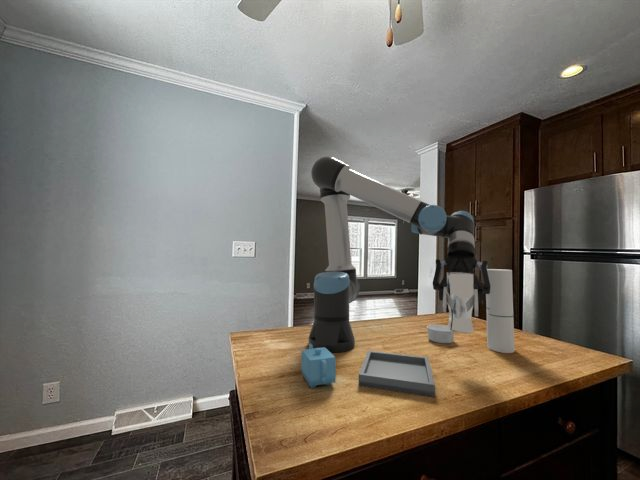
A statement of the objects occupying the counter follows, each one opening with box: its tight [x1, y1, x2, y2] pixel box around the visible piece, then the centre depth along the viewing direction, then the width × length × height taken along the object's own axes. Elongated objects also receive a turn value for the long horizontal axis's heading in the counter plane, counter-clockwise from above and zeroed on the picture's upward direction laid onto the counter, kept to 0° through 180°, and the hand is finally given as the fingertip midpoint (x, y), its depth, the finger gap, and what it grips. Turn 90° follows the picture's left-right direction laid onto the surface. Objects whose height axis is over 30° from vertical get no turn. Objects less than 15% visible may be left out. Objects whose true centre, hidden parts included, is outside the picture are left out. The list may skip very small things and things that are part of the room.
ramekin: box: [426, 324, 455, 344], centre depth 95 cm, size 9×9×4 cm
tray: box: [358, 350, 436, 398], centre depth 66 cm, size 16×16×2 cm
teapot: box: [300, 342, 337, 388], centre depth 64 cm, size 12×6×8 cm, turn 19°
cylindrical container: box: [485, 268, 515, 354], centre depth 86 cm, size 7×7×25 cm
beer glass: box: [446, 271, 475, 334], centre depth 72 cm, size 7×7×15 cm
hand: (460, 311), depth 69 cm, fingers closed on beer glass, 7 cm apart
